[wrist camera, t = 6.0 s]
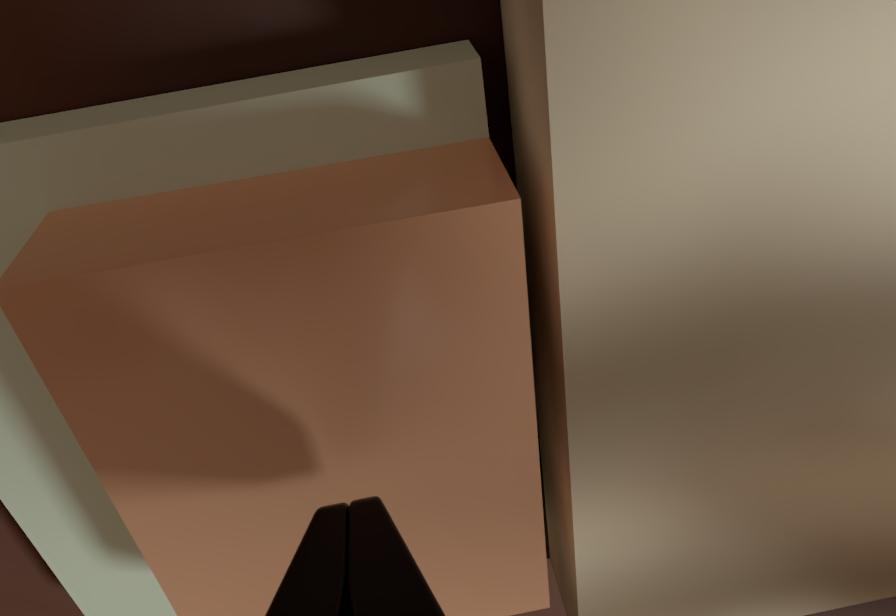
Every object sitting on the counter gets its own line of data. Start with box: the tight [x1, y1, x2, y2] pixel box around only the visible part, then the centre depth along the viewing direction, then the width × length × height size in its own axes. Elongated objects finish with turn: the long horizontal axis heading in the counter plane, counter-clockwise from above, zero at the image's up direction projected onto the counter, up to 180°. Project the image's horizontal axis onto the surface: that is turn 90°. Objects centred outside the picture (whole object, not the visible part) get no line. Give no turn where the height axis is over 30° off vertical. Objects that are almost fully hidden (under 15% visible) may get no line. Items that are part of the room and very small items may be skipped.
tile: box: [0, 137, 550, 616], centre depth 11 cm, size 8×6×2 cm
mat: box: [0, 40, 489, 616], centre depth 12 cm, size 10×9×1 cm
